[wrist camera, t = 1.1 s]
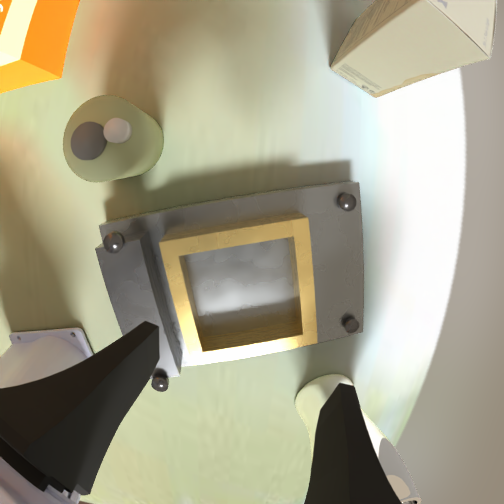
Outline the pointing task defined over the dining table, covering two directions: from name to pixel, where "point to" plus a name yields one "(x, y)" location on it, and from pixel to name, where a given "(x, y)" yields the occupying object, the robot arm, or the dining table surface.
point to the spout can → (111, 140)
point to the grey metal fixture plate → (239, 274)
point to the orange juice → (33, 40)
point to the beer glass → (388, 456)
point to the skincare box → (414, 41)
